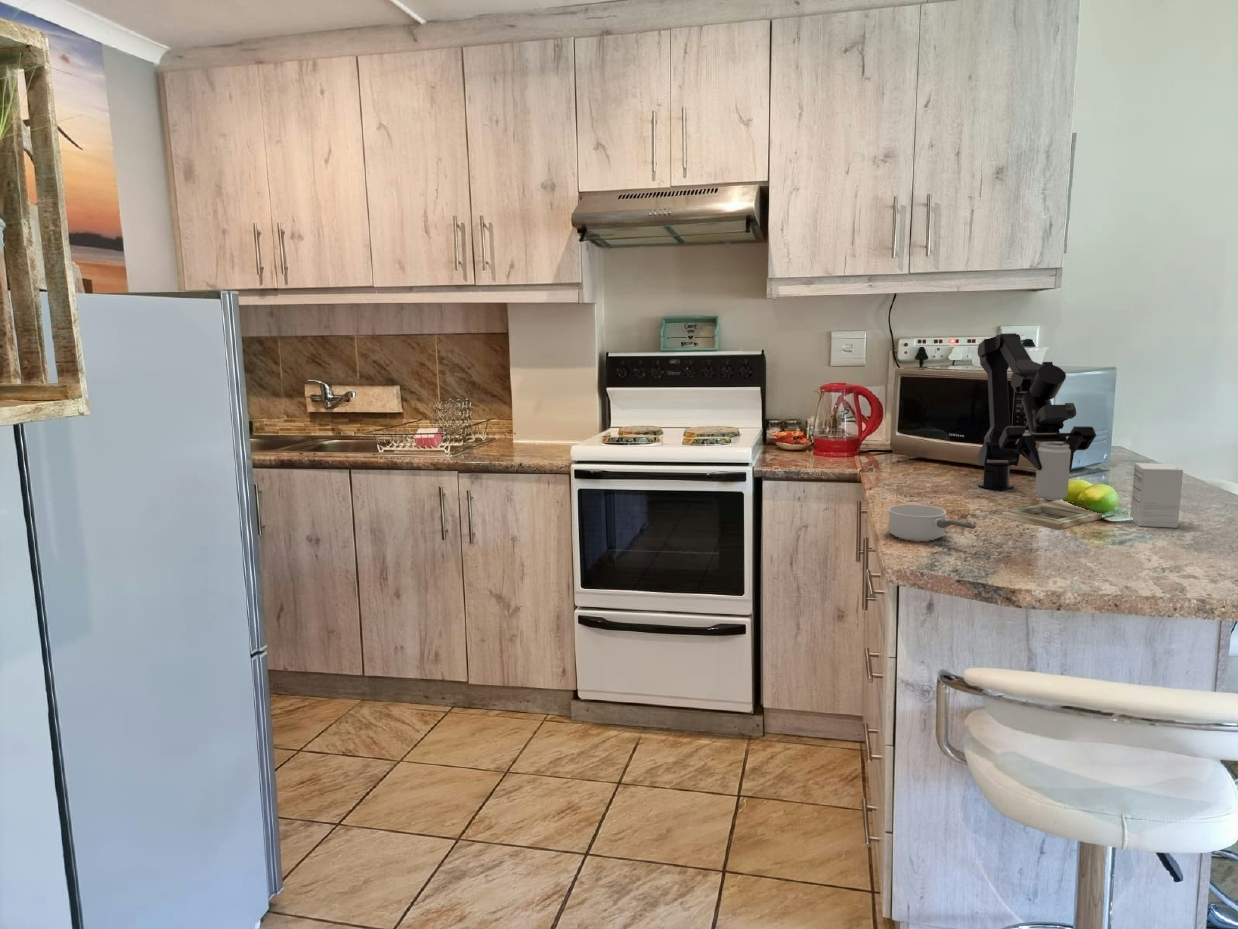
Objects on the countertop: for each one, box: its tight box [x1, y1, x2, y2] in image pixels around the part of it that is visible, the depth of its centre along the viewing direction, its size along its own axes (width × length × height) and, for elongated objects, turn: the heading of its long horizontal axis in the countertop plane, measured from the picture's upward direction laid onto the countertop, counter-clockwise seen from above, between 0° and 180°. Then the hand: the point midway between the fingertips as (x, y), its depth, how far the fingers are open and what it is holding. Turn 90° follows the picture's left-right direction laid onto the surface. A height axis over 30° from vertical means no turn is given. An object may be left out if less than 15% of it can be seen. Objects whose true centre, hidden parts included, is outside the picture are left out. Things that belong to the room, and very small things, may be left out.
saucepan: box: [887, 503, 977, 542], centre depth 165 cm, size 12×20×6 cm, turn 25°
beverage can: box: [1034, 442, 1071, 501], centre depth 180 cm, size 6×6×12 cm
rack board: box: [1001, 500, 1102, 530], centre depth 183 cm, size 22×13×1 cm, turn 122°
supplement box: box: [1129, 462, 1184, 529], centre depth 175 cm, size 7×7×13 cm
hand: (1055, 469), depth 178 cm, fingers closed on beverage can, 6 cm apart
